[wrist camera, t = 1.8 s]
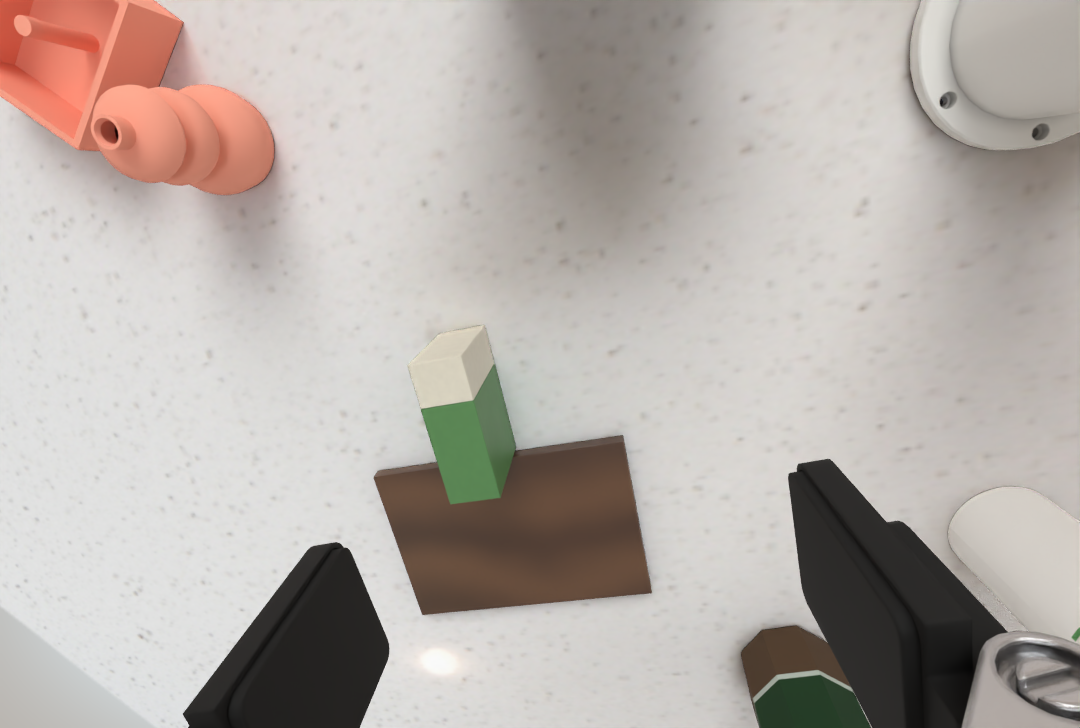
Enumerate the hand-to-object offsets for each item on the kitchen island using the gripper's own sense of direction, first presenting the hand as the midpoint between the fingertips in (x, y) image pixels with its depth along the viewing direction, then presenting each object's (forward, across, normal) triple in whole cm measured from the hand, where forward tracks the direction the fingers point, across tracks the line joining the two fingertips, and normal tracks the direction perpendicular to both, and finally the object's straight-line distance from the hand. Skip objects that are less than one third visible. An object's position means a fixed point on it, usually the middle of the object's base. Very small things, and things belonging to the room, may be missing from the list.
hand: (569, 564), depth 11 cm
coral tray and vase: (+28, +24, -20) cm, 42 cm away
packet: (+28, +9, +5) cm, 30 cm away
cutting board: (+28, +10, +18) cm, 34 cm away
